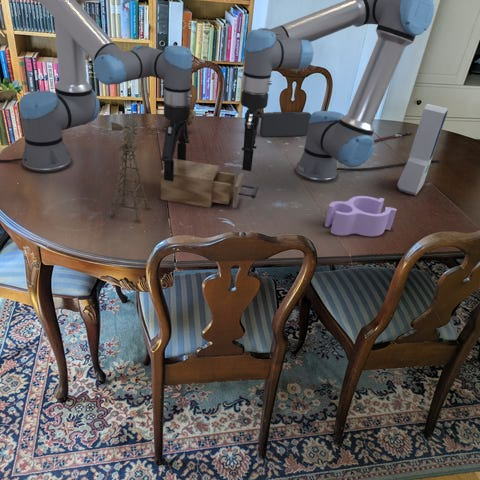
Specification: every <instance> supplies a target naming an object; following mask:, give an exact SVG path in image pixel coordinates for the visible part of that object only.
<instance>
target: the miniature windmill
mask: <svg viewBox="0 0 480 480" xmlns="http://www.w3.org/2000/svg"><path fill="white" fill-rule="evenodd" d="M132 114H134V112H133V111H132V112H131V113H129V114H127V117H125V121H126V122H124V126H123V125H121V124H119V123H115V122H112V121H111V131H112V132H121V131H123V137H124V138H123V140H124V143H122V145H121V146H120V147H118V148H117V150H119V151H122V155H121V156H120V159H121V161H120V164H119V171H118V172H117V175H118V176H117V180H116V187H115V192H114V195H113V197H114V198H113V202H112V203H111V206H112V208H111V213H110V216H111V217H114V216H115V209H116V207H119V208H125V209H126V208H127V209H130V210H134V212H135V220H136V222H137V221H140V219H139V211H138V210H139V209H140V207H141V206H142V205H143V204H144V205H145V209H149V204H148V201H147V199H148V197H147V196H146V193H145V190H144V186H143V183H144V182H143V181H142V178H141V175H140V168H139V166H138V163H137V159H136V157H137V156H136V154H135V152H136V151H137V150H138V149H140V146H139V145H137V144H134V143H135V140H137V138H136V136H137V135H138V133H137V132H136V131H138V128H136V127H137V126H138V118H136V117H137V115H132ZM133 144H134V145H133ZM128 161H129V166H127V164H128ZM132 161H133V163H134V166H135V167H133V164H132ZM123 165H124V167H123ZM127 169H129V170H130V173H127ZM133 170H134V172H133ZM135 174H136V175H137V179H138V180H135V179H134V176H135ZM127 176H130V178H131V179H129V178H127ZM122 178H123V180H122V181H121V179H122ZM127 182H131V186H132V187H131V188H132V189H130V188H126V183H127ZM135 183H138V184H139V185H138V186H136V187H135ZM122 184H123V185H122ZM121 185H122V187H121ZM139 188H140V189H141V194H142V195H137V194H136V192H137V190H138V189H139ZM121 191H122V193H121V194H120V195H119V196H118V194H119V193H120V192H121ZM126 191H129V192H132V193H126ZM126 196H131V197H133V203H134V204H133V205H134V207H132V206H128V205H125V200H126V199H125V197H126ZM121 197H122V199H121ZM137 198H141V199H143V200H142V201H141V202H140V203H139V205H138V203H137V202H138V201H137ZM119 199H121V204H117V202H118V201H119Z"/></svg>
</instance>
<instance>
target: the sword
mask: <svg viewBox="0 0 480 480" xmlns="http://www.w3.org/2000/svg"><path fill="white" fill-rule="evenodd" d="M412 134H414V132H413V133H410V134H409V135H412ZM406 135H408V134H402V132H398V133H397V134H396V133H395V134H392V135H389V136H383V137H379V138H377V139H373V140H374V143H377V142H381V141H384V140H389V139H393V138H398V137H403V136H406Z"/></svg>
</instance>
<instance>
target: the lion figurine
mask: <svg viewBox="0 0 480 480" xmlns="http://www.w3.org/2000/svg"><path fill="white" fill-rule="evenodd" d="M196 118H197V114H196V111H195V110H193V109H190V117H189V118H188V119H187V128H188V129H189V126H192V125H193V123H194V122H196ZM169 124H170V120H169V119H167V118H165V120H164V124H163V128H161V132H162V131H166V126H168V125H169ZM189 132H190V131H188V134H189Z"/></svg>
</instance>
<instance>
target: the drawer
mask: <svg viewBox="0 0 480 480" xmlns="http://www.w3.org/2000/svg"><path fill="white" fill-rule="evenodd" d="M244 175H245V173H243V172H239V174H238V177H237V180H235V178H236V173H230V172H225V171H220V172H219V171H218V173H217V175H216V177H215V179H214V180H213V185H212V200H211V202H213V203H217V204H223V205H229V204H230V202H231V199H232V209H237V207H238V204H239V203H240V199H241V197H242V196H244V197H249V198H251V199H253V200H254V199H256V197H257V194H258V191H259V188H260V187H259V185H253V186H252V185H247V184H244V178H245V177H244ZM235 181H236V182H235ZM243 188H244V189H245V188H246V189H250V190H252V193H251V194H250V193H245V192H243Z"/></svg>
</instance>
